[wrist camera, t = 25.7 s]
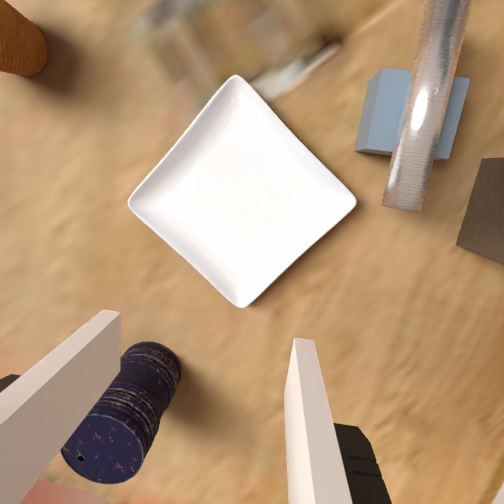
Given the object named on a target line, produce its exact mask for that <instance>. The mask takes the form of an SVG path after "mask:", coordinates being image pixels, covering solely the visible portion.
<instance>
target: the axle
mask: <svg viewBox="0 0 504 504" xmlns="http://www.w3.org/2000/svg"><path fill="white" fill-rule="evenodd" d="M472 3H473V0H426V2H425V7H424V12H423V16H422V21H421V25H420V30H419V34H418V39H417V44H416V48H415V53H414V57H413V62H412V66H411V71H410V76H409V80H408V85H407V89H406V94H405V98H404V103H403V108H402V112H401V117H400V121H399V126H398V130H397V135H396V140H395V144H394V149H393V153H392V158H391V162H390V167H389V172H388V176H387V181H386V185H385V190H384V194H383V199H382V204H381V206H385V207H391V208H397V209H405V210H412V211H421V209H422V205H423V201H424V197H425V193H426V189H427V185H428V181H429V177H430V173H431V168H432V164H433V160H434V156H435V152H436V148H437V144H438V140H439V136H440V132H441V128H442V124H443V120H444V116H445V112H446V108H447V104H448V100H449V96H450V92H451V88H452V84H453V80H454V76H455V72H456V68H457V63H458V59H459V55H460V51H461V47H462V43H463V39H464V35H465V31H466V27H467V23H468V19H469V15H470V11H471V7H472Z"/></svg>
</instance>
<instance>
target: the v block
mask: <svg viewBox="0 0 504 504" xmlns="http://www.w3.org/2000/svg"><path fill="white" fill-rule="evenodd" d="M409 76H410V71H406V70H397V69H389V68H382V69H381V70H380V71H379V72H378V73H377V74H376V75H375V76H374V77H373V78H371V79H370V80H369V82H368V87H367V92H366V97H365V102H364V107H363V112H362V117H361V122H360V127H359V132H358V137H357V142H356V147H355V151H357V152H365V153H373V154H381V155H389V156H392V153H393V149H394V144H395V140H396V135H397V130H398V126H399V121H400V117H401V112H402V108H403V103H404V98H405V94H406V89H407V85H408V80H409ZM470 80H471V78H464V77H456V76H454V80H453V84H452V88H451V92H450V96H449V100H448V104H447V108H446V112H445V116H444V120H443V124H442V128H441V132H440V136H439V140H438V144H437V148H436V152H435V156H434V160H441V159H449V155H450V152H451V148H452V145H453V141H454V137H455V134H456V130H457V127H458V123H459V120H460V116H461V112H462V109H463V105H464V102H465V98H466V94H467V91H468V87H469V84H470Z"/></svg>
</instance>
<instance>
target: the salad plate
mask: <svg viewBox="0 0 504 504" xmlns="http://www.w3.org/2000/svg"><path fill="white" fill-rule="evenodd" d="M356 204H357V200H356V198H355V196H354V195H353V194H352V193H351V192H350V191H349V189H348V188H347V187H346V186H345V185H344V184H343V183H342V182H341V181H340V180H339V179H338V178H337V177H336V176H335V175H334V174H333V173H332V172H331V171H329V170H328V169H327V168H326V167H325V166H324V165H323V164H322V163H321V162H320V161H319V160H318V159H317V158H316V157H315V156H314V155H313V154H312V153H311V152H310V150H309V149H308V148H307V147H306V146H305V145H304V144H303V143H302V142H301V141H300V140H299V139H298V138H297V137H296V136H295V135H294V134H293V133H292V132H291V131H290V130H289V129H288V128H287V126H286V125H285V124H284V123H283V122H282V121H281V120H280V119H279V117H278V116H277V115H276V114H275V113H274V112H273V110H272V109H271V108H270V107H269V106H268V105H267V103H266V102H265V101H264V100H263V99H262V98H261V96H260V95H259V94H258V93H257V92H256V91H255V90H254V89H253V88H252V87H251V86H250V85H249V84H248V83H247V82H246V81H245V80H244V79H243V78H242V77H240V76H238V75H234V76H232V77H230V78H229V79H228V80H227V81H226V82H225V83H224V84H223V85H222V86H221V88H220V89H219V90H218V91H217V92H216V93H215V94H214V96H213V97H212V98H211V100H210V101H209V102H208V103H207V104H206V106H205V107H204V108H203V110H202V111H201V112H200V113H199V115H198V116H197V117H196V118H195V120H194V121H193V122H192V123H191V125H190V126H189V127H188V129H187V130H186V131H185V132H184V134H183V135H182V136H181V137H180V139H179V140H178V141H177V142H176V143H175V145H174V146H173V147H172V148H171V149H170V150H169V152H168V153H167V154H166V155H165V156H164V157H163V159H162V160H161V161H160V162H159V163H158V164H157V166H156V167H155V168H154V169H153V170H152V171H151V172H150V173H149V175H148V176H147V177H146V178H145V179H144V180H143V181H142V182H141V184H140V185H139V186H138V187H137V188H136V189H135V191H134V192H133V193H132V194H131V196H130V197H129V200H128V206H129V208H130V209H131V210H132V212H133V213H134V214H135V215H137V216H138V217H139V218H140V219H141V220H142V221H143V222H144V223H145V224H146V225H147V226H149V227H150V228H151V229H152V230H153V231H154V232H155V233H156V234H158V235H159V236H160V237H161V238H162V239H163V240H164V241H165V242H167V243H168V244H169V245H170V246H171V247H172V248H173V249H174V250H175V251H177V252H178V253H179V254H180V255H181V256H182V257H183V258H184V259H185V260H186V261H188V262H189V263H190V264H191V265H192V266H193V267H194V268H195V269H196V270H197V271H198V272H199V273H200V274H201V275H202V276H203V277H204V278H206V279H207V280H208V281H209V282H210V283H211V284H212V285H213V286H214V287H215V288H216V289H217V290H218V291H219V292H220V293H221V294H222V295H223V296H224V297H225V298H226V299H227V300H229V301H230V302H231V303H232V304H233V305H235V306H237V307H238V308H245V307H247V306H248V305H250V304H251V303H252V302H253V301H254V300H255V299H256V298H257V297H258V296H259V295H261V293H263V292H264V291H265V290H266V289H267V288H268V287H269V286H270V285H271V284H272V283H273V282H274V281H275V280H276V279H277V278H278V277H279V276H280V275H281V274H282V273H283V272H284V271H285V270H286V269H287V268H288V267H289V266H290V265H291V264H292V263H293V262H294V261H295V260H297V259H298V258H299V257H300V256H301V255H302V254H303V253H304V252H305V251H306V250H308V249H309V248H310V247H311V246H312V245H313V244H314V243H315V242H317V241H318V240H319V239H320V238H321V237H322V236H323V235H325V234H326V233H327V232H328V231H329V230H330V229H332V228H333V227H334V226H335V225H336V224H337V223H338V222H339V221H341V220H342V219H343V218H344V217H345V216H346V215H347V214H348V213H349V212H350V211H351V210H352V209H353V208H354V207H355V206H356Z"/></svg>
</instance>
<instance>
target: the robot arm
mask: <svg viewBox="0 0 504 504" xmlns="http://www.w3.org/2000/svg"><path fill="white" fill-rule="evenodd" d="M120 359H121V312H118V311H111V310H104V309H103V310H101V311H100V312H99V313H98V314H96V315H95V316H94V317H93V318H92V319H90V320H89V321H88V322H87V323H85V324H84V325H83V326H82V327H81V328H79V329H78V330H77V331H76V332H74V333H73V334H72V335H71V336H69V337H68V338H67V339H66V340H65V341H63V342H62V343H61V344H60V345H58V346H57V347H56V348H55V349H54V350H52V351H51V352H50V353H49V354H47V355H46V356H45V357H44V358H43V359H41V360H40V361H39V362H38V363H36V364H35V365H34V366H33V367H32V368H30V369H29V370H28V371H27V372H25V373H24V374H23V375H22V376H20V375H13V374H11V375H9V376H6V377H4V378H2V379H0V504H19V503H20V502H21V501H22V499H23V498H24V497H25V496H26V494H27V493H28V492H29V490H30V489H31V488H32V486H33V485H34V484H35V482H36V481H37V480H38V479H39V477H40V476H41V475H42V473H43V472H44V471H45V469H46V468H47V467H48V465H49V464H50V463H51V461H52V460H53V459H54V457H55V456H56V455H57V454H58V452H59V451H60V450H61V448H62V447H63V446H64V444H65V443H66V442H67V440H68V439H69V438H70V436H71V435H72V434H73V433H74V431H75V430H76V429H77V427H78V426H79V425H80V423H81V422H82V421H83V419H84V418H85V417H86V415H87V414H88V413H89V412H90V410H91V409H92V408H93V406H94V405H95V404H96V402H97V401H98V400H99V398H100V397H101V396H102V394H103V393H104V392H105V390H106V389H107V388H108V387H109V385H110V384H111V383H112V381H113V380H114V379H115V377H116V376H117V375H118V373H119V372H120ZM284 413H285V434H286V456H287V477H288V499H289V504H392V503H391V500H390V497H389V494H388V492H387V489H386V486H385V483H384V480H383V479H382V475H381V472H380V469H379V466H378V464H377V463H376V458H375V455H374V452H373V449H372V447H371V444H370V442H369V441H368V439H367V438H366V437H365V435H364V434H363V433H362V431H361V430H360V429H359V428H358V427H356V426H350V425H343V424H337V423H333V420H332V416H331V411H330V407H329V403H328V399H327V394H326V390H325V386H324V382H323V378H322V373H321V369H320V365H319V361H318V357H317V352H316V348H315V344H314V340H308V339H301V338H294V342H293V347H292V353H291V359H290V364H289V370H288V375H287V381H286V386H285V392H284Z"/></svg>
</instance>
